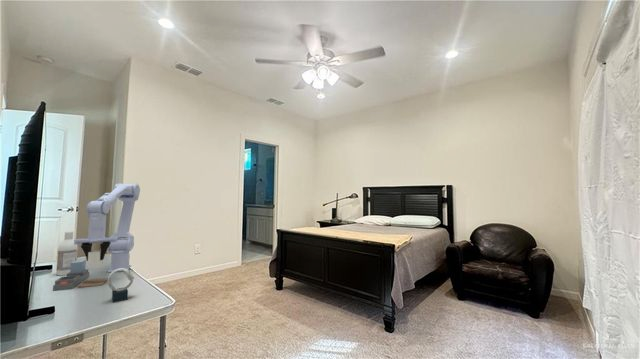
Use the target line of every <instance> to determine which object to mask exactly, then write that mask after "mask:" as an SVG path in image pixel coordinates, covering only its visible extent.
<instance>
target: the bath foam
mask: <svg viewBox="0 0 640 359" xmlns="http://www.w3.org/2000/svg"><path fill="white" fill-rule="evenodd" d="M74 240H75V239H74V231H70V230H69V231H65V232H64V239H63V241H61V243H60V244H59V246H58V248H57V256H56V269H55V270H56V272H55V274H56V276H59V277H66V275H67V273H69V272H70V268H71V262H73V261H77V260H78V250H79V249H78V248H79V247H78V244H74Z"/></svg>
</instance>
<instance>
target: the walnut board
mask: <svg viewBox="0 0 640 359" xmlns="http://www.w3.org/2000/svg"><path fill="white" fill-rule="evenodd" d="M107 281H108V277H104V278H102V277H101V278H92V279H85V280H83V281H82V282H81V283H79V284H78V285H77V288H78V289H80V288H81V289H83V288H91V287H101V286H102V287H103V285H104V284H105V283H106V282H107Z"/></svg>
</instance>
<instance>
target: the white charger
mask: <svg viewBox="0 0 640 359" xmlns="http://www.w3.org/2000/svg"><path fill="white" fill-rule="evenodd" d="M100 256H101V249H98V250H97V249H96V250H91V251H90V252H89V253H88V261H87V268H92V267H100V266H102V265H103V260H104V259H103V260H100Z"/></svg>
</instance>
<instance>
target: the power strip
mask: <svg viewBox="0 0 640 359" xmlns="http://www.w3.org/2000/svg"><path fill="white" fill-rule="evenodd" d="M89 277H90V271H89V268H88V269H87V268H85V271H84V272H80V273H70V272H69V273H67V275H65V276H60V278H58V279H56V280H54V284H53V285H52V291H53V292H55V291H56V292H57V291H65V290H73V289H74V288H75V287H78V286H79V285H80V284H82V283H83V282H84V281H86V280H87V279H88V278H89Z"/></svg>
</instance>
